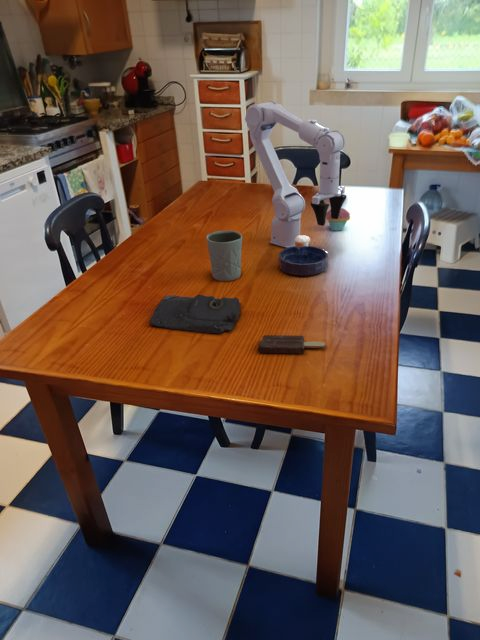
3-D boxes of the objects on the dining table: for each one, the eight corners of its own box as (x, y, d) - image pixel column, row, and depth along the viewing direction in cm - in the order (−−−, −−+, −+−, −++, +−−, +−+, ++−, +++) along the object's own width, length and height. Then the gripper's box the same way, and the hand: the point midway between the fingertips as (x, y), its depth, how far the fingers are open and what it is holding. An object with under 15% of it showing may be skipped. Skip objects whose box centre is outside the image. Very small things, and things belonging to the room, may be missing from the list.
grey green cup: (204, 279, 142) (200, 240, 136) (218, 266, 150) (215, 228, 144) (236, 283, 139) (233, 244, 133) (249, 270, 147) (247, 231, 140)
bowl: (269, 269, 147) (268, 256, 145) (297, 253, 157) (298, 241, 154) (309, 281, 139) (309, 268, 137) (336, 264, 149) (337, 252, 146)
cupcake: (333, 233, 171) (335, 199, 164) (320, 226, 177) (322, 193, 170) (353, 229, 174) (356, 195, 167) (340, 222, 180) (342, 190, 174)
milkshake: (311, 268, 145) (312, 236, 140) (293, 267, 146) (293, 235, 141) (312, 262, 149) (313, 231, 143) (295, 261, 150) (296, 230, 144)
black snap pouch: (168, 298, 133) (165, 283, 130) (246, 305, 128) (245, 289, 126) (144, 327, 120) (141, 310, 118) (230, 335, 116) (228, 318, 113)
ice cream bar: (324, 341, 113) (259, 340, 114) (324, 335, 112) (259, 334, 113) (325, 354, 108) (258, 353, 109) (325, 348, 107) (258, 347, 108)
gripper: (326, 183, 137) (325, 230, 144) (354, 173, 146) (351, 217, 153) (306, 180, 140) (306, 226, 148) (334, 170, 150) (332, 213, 157)
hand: (328, 221), depth 151 cm, fingers open, 7 cm apart
